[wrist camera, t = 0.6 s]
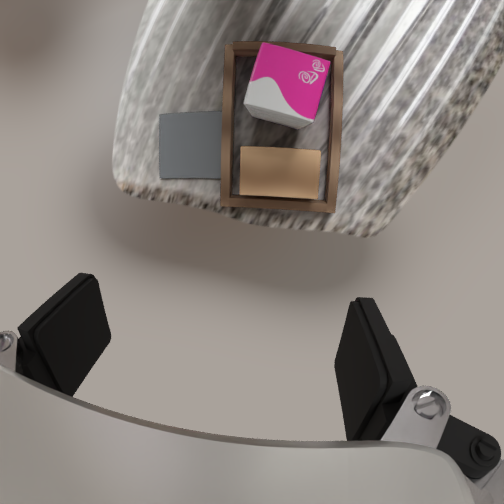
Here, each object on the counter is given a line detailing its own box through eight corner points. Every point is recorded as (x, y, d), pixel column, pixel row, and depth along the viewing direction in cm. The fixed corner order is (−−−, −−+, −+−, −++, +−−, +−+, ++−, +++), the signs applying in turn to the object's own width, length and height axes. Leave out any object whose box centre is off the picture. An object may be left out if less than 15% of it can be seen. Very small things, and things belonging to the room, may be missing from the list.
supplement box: (301, 130, 31) (313, 125, 20) (250, 116, 31) (237, 104, 20) (314, 85, 28) (332, 60, 18) (264, 71, 28) (257, 39, 18)
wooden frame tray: (228, 49, 28) (223, 42, 25) (339, 55, 27) (345, 48, 24) (223, 202, 35) (218, 208, 32) (331, 209, 34) (336, 215, 31)
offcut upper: (243, 146, 30) (240, 146, 28) (317, 150, 29) (321, 150, 27) (242, 190, 32) (239, 194, 29) (314, 194, 31) (317, 199, 29)
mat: (160, 114, 31) (159, 114, 31) (225, 111, 30) (224, 111, 30) (160, 177, 34) (159, 178, 34) (223, 178, 33) (223, 178, 33)
